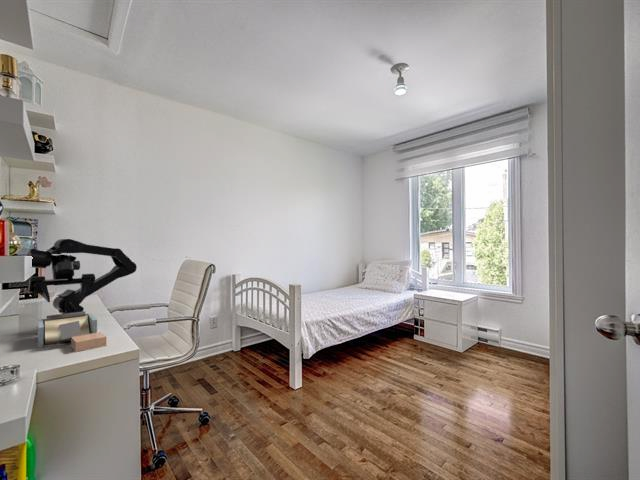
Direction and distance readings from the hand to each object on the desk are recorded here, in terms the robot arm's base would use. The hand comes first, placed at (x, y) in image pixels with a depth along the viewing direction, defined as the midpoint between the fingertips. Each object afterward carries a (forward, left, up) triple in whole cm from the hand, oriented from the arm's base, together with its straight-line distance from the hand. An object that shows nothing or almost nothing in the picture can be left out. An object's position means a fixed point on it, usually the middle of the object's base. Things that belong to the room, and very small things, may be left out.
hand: (66, 299), depth 109 cm
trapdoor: (0, +1, -11) cm, 11 cm away
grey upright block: (+4, +4, -11) cm, 12 cm away
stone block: (+11, +15, -14) cm, 23 cm away
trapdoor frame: (+1, +1, -14) cm, 14 cm away
